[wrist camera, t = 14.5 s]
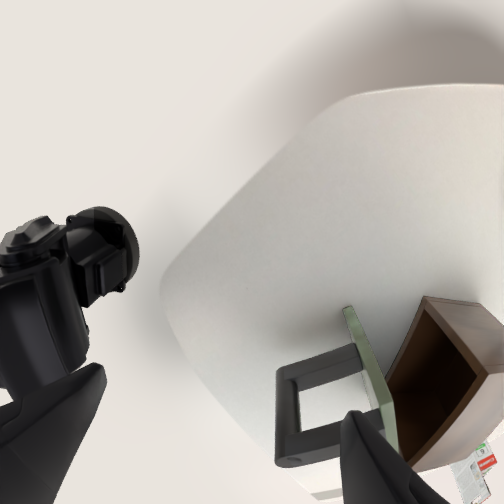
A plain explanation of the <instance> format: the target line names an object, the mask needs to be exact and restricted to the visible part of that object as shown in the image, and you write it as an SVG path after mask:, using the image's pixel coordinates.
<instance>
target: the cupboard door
mask: <svg viewBox="0 0 504 504" xmlns="http://www.w3.org/2000/svg"><path fill="white" fill-rule="evenodd" d="M343 313H344V316H345V319H346V322H347V325H348V328H349V332H350V335H351V338H352V342H353V343H351V344H348V345H346V346H343V347H340V348H338V349H335V350H332V351H329V352H326V353H324V354H321V355H318V356H315V357H312V358H309V359H306V360H303V361H299V362H296V363H293V364H290V365H286V366H283V367H280V368H279V369H278V370H277V371H276V414H275V464H276V465H277V466H279V467H282V468H293V467H299V466H304V465H308V464H313V463H317V462H321V461H325V460H329V459H333V458H337V457H340V426H341V423H342V421H343V420H341V421H338V422H335V423H331V424H328V425H325V426H321V427H317V428H314V429H310V430H306V431H302V429H301V415H300V401H299V392H300V391H303V390H306V389H310V388H313V387H316V386H320V385H323V384H326V383H329V382H332V381H335V380H338V379H341V378H344V377H346V376H349V375H352V374H355V373H357V372H360V371H361V373H362V377H363V380H364V384H365V388H366V392H367V396H368V399H369V402H370V405H371V408H372V410H371V411H368V412H365V413H363V414H364V415H365V417H366V418H367V419H368V420H369V421H370V422H371V423H372V424H373V426H374V427H375V428H376V429H377V430H378V431H379V432H380V433H381V435H382V436H383V437H384V438H385V439H386V440H387V441H388V442H389V444H390V445H391V446H392V447H393V448H394V449H395V450H396V451H397V452H398V454H399V447H398V436H397V426H396V417H395V409H394V402H393V398H392V396H391V393H390V391H389V388H388V386H387V384H386V381H385V379H384V376H383V374H382V372H381V369H380V367H379V365H378V362H377V360H376V358H375V355H374V353H373V351H372V349H371V346H370V344H369V342H368V340H367V337H366V335H365V333H364V331H363V329H362V327H361V324H360V322H359V320H358V318H357V316H356V314H355V312H354V310H353V307H352V306H349V307H347V308H344V309H343Z"/></svg>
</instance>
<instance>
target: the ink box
mask: <svg viewBox="0 0 504 504" xmlns="http://www.w3.org/2000/svg"><path fill="white" fill-rule="evenodd" d="M496 463H497V461H496V458H495V456H494V454H493V452H492V450H491V448H490V446H489V443H488V441H487V439H485V440H484V441H483V443H482V444H481V445H480V446H479V447H478V448H477V449H476V450H475V451H474V452H473V453H472V454H471V455H470V456H469V457H468V458H467V459H465V460H462V461H459V462H455V463H452V464H450V466H451V469H452V472H453V475H454V477H455V480H456V483H457V485H458V488H459V491H460V493H461V497H462V500H463V503H464V504H472V502H473V500H475V499H476V498H477V497H478V496H479V495H481V499H480V500H479V501H478V503H475V504H481V503H482V502H483V501H485V500H486V499H487V498H488V497H489V496H491V493H490V491H489V488H488V486H487V484H486V483H485V480H484V479H483V477H484V476H485V475H486V474H487V473H488V472H489V471H490V470H491V469H492V468H493V467H494V466H495V465H496Z"/></svg>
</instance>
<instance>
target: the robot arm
mask: <svg viewBox="0 0 504 504" xmlns="http://www.w3.org/2000/svg"><path fill="white" fill-rule="evenodd" d="M71 220H72V222H71ZM118 226H119V227H120V229H121V230H120V231H119V230H118ZM126 276H127V250H126V248H125V226H124V224H123V223H121V222H115V221H108V220H102V219H96V218H89V217H83V216H76V215H70V216H68V217H67V219H66V225H57V224H54V223H53V222H52V221H51V220H50V218H49V217H48V216H41V217H38V218H35V219H33V220H30V221H28V222H26V223H25V224H24V225H23V226H20V227H18V228H17V229H16V230H14V231H11V232H8V233H6V234H5V236H4V238H3V240H2V242H1V244H0V388H3V389H7V391H8V393H9V394H10V396H11V398H12V399H13V402H10V403H8V404H6V405H3V406H0V504H53V503H54V500H55V498H56V496H57V493H58V491H59V489H60V486H61V484H62V482H63V480H64V477H65V475H66V473H67V471H68V469H69V467H70V465H71V462H72V460H73V458H74V456H75V454H76V452H77V450H78V448H79V446H80V444H81V442H82V440H83V438H84V436H85V434H86V432H87V430H88V428H89V426H90V424H91V422H92V420H93V418H94V416H95V414H96V411H97V408H98V406H99V403H100V400H101V398H102V395H103V393H104V390H105V388H106V385H107V378H106V374H105V370H104V367H103V366H102V365H100V364H98V363H94V362H93V363H91V364H89V365H87V366H85V367H83V368H81V369H79V370H77V369H78V368H80V366H81V365H82V364H83V363H84V362H85V361H86V354H87V351H88V348H89V345H90V344H89V337H88V335H89V328H88V325H86V322H85V318H84V315H83V311H82V308H81V307H85V308H88V307H89V306H90V305H91V304H93V303H94V301H96V300H97V299H98V298H99V297H100V296H103V297H104V296H105V295H106V294H107V293H108V292H110V291H114V292H119V293H122V292H123V291H124V290H125V289H126V278H125V277H126ZM119 286H121V288H122V289H121V288H120V287H119ZM76 370H77V371H76ZM74 371H75V372H74ZM340 469H341V478H342V489H343V500H344V504H450V503H449V502H447V501H446V500H445V499H444V498H443V497H441V496H440V495H439V494H438V493H436V492H435V491H434V490H433V489H432V488H431V487H430V486H429V485H428V484H426V483H425V482H424V481H423V480H422V478H421V477H420V476H419V475H418V474H417V473H416V472H415V471H413V469H412V468H411V467H410V466H409V465H408V463H407V462H406V461H405V460H404V459H403V458H402V457H401V456H400V455H399V454H398V452H397V451H396V450H395V449H394V448H393V447H392V446H391V445H390V444H389V442H388V441H387V440H386V439H385V438H384V437H383V436H382V435H381V433H380V432H379V431H378V430H377V429H376V428H375V427H374V426H373V424H372V423H371V422H370V421H369V420H368V419H367V418H366V417H365V415H364V414H363V413H362V412H361V411H359V410H351V411H349V412H348V413H347V415H346V416H345V418H344V420H343V421H342V423H341V426H340Z"/></svg>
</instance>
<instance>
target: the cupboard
mask: <svg viewBox="0 0 504 504" xmlns="http://www.w3.org/2000/svg"><path fill="white" fill-rule="evenodd" d="M385 381H386V384H387V386H388V388H389V391H390V393H391V396H392V398H393V402H394V409H395V417H396V426H397V436H398V447H399V455H400V456H401V457H402V458H403V459H404V460H405V461H406V462H407V463H408V465H409V466H410V467H411V468H412V469H413V471H415V472H416V473H418V472H423V471H427V470H431V469H435V468H438V467H442V466H445V465H449V464H452V463H455V462H459V461H462V460H465V459H467V458H468V457H469V456H470V455H471V454H472V453H473V452H474V451H475V450H476V449H477V448H478V447H479V446H480V445H481V444H482V443H483V441H484V440H485V439H486V438H487V437H488V436H489V435H490V434H491V433H492V432H493V430H494V429H495V428H496V427H497V426H498V425H499V423H500V422H501V421H502V420H503V419H504V325H502V324H501V323H500V322H499V321H498V320H497V319H496V318H495V317H494V316H493V315H492V314H491V313H490V312H489V311H488V310H487V309H485V308H484V307H483V306H482V305H481V304H478V303H470V302H463V301H455V300H448V299H440V298H433V297H426V296H424V297H423V299H422V301H421V304H420V306H419V309H418V311H417V314H416V316H415V318H414V321H413V323H412V325H411V327H410V330H409V332H408V334H407V336H406V338H405V340H404V342H403V345H402V347H401V349H400V351H399V353H398V355H397V357H396V359H395V361H394V362H393V364H392V366H391V368H390V370H389V372H388V374H387V376H386V377H385Z"/></svg>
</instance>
